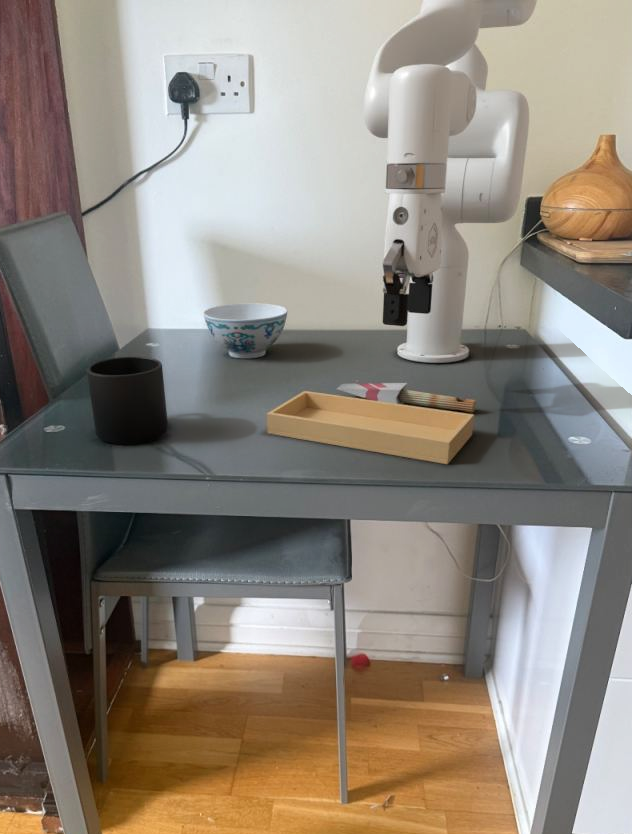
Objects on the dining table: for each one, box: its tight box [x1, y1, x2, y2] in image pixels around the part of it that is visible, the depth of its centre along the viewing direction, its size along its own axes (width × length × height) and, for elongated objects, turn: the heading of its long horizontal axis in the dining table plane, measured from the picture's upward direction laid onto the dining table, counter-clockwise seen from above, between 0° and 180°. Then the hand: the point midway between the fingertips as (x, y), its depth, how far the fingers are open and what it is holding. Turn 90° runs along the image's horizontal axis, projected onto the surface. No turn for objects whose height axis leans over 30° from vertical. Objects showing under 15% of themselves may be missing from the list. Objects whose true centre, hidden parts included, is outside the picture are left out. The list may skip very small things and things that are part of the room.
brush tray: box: [266, 390, 475, 465], centre depth 92 cm, size 11×24×3 cm, turn 62°
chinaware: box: [203, 302, 288, 359], centre depth 129 cm, size 15×15×8 cm
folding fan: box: [336, 382, 477, 414], centre depth 103 cm, size 4×3×20 cm
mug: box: [86, 356, 169, 445], centre depth 94 cm, size 9×12×9 cm
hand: (407, 318), depth 97 cm, fingers open, 9 cm apart
